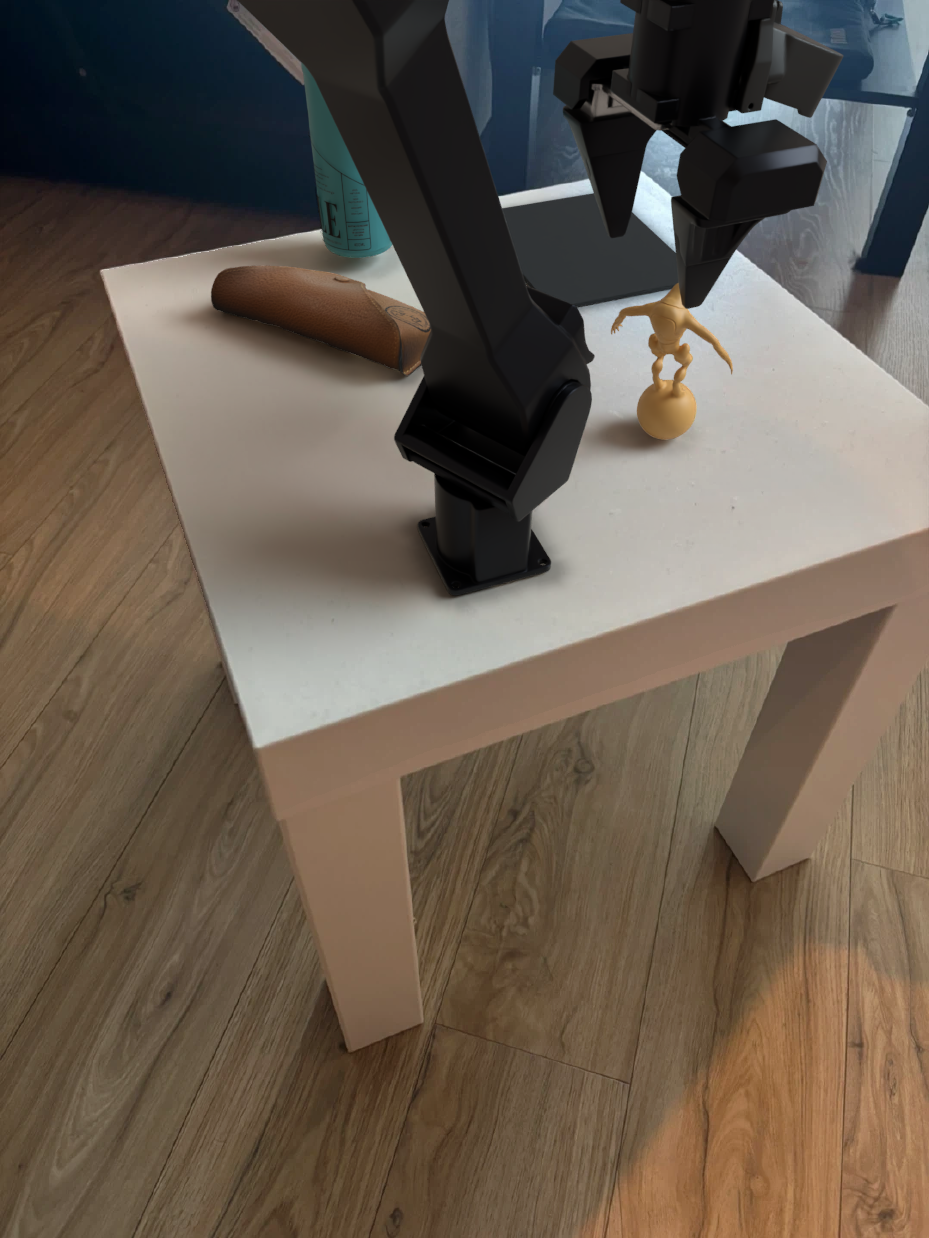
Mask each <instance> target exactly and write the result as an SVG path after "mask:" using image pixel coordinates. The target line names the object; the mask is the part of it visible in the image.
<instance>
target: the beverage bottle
mask: <svg viewBox="0 0 929 1238" xmlns="http://www.w3.org/2000/svg"><path fill="white" fill-rule="evenodd" d="M300 67H301V72H302V76H303V83H304V91H305V100H306V108H307V112H306V113H307V117H308V126H307V129H309V131H307V136H308V137H309V141H310V145H311V152H312V160H313V172H314V176H313V179H315V181H313V182H314V185H315V188H314V191H315V201H316V205H317V207H316V208H317V213H318V218H319V222H318V224H319V229H321V230H320V232H321V236H320V237H321V240H322V241H323V243H324V245H325V247H326V249H327V250H328V251H329V252H331V253H333V254H334V255H337V256H339V257H344V258H352V259H353V258H354V259H363V258H371V257H374V256H378V255H381V254H384V253H385V252H387V251H388V250H389V249H390V248H391V247H393V245H392V243H391V241H390V238H389V236H388V234H387V232H386V230H385V228H384V226H383V224H382V221H381V219H380V217H379V215H378V213H377V211H376V209H375V207H374V204H373V202H372V200H371V198H370V196H369V194H368V192H367V190H366V187H365V185H364V183H363V181H362V179H361V177H360V175H359V173H358V171H357V168H356V166H355V164H354V162H353V160H352V158H351V156H350V154H349V151H348V149H347V147H346V145H345V143H344V141H343V139H342V137H341V134H340V132H339V130H338V128H337V126H336V124H335V122H334V120H333V117H332V115H331V113H330V111H329V109H328V107H327V105H326V103H325V100H324V98H323V96H322V94H321V92H320V90H319V88H318V86H317V84H316V81H315V80H314V78H313V76H312V75H311V73H310V72H309V71H308V69H307V68H306V67H305V66H304V65H303V63H302V62H300Z"/></svg>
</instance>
